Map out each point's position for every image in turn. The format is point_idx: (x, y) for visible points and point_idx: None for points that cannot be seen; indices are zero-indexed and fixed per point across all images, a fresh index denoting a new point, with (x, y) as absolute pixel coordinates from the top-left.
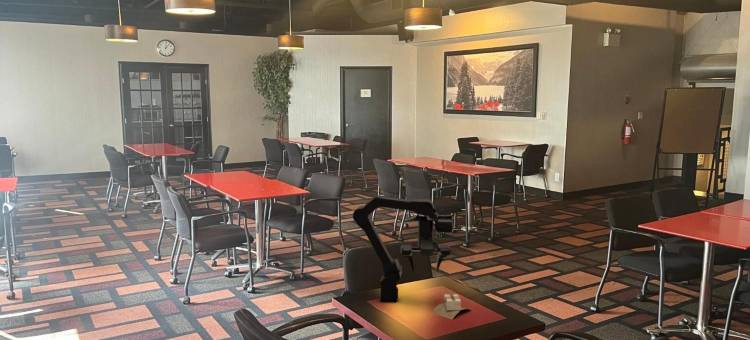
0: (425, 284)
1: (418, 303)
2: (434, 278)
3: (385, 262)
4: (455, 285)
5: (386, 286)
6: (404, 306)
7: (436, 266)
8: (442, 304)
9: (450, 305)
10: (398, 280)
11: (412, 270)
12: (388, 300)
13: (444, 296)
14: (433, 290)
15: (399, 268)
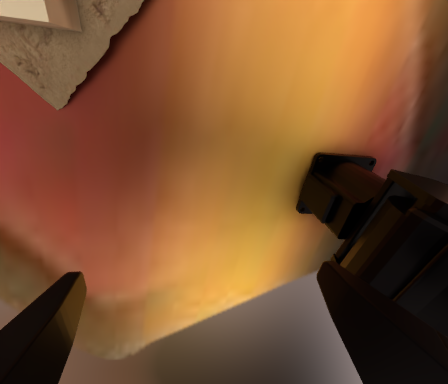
0: (167, 310)
1: (228, 134)
2: (133, 349)
3: None
4: None
5: (423, 177)
6: (301, 99)
7: (65, 352)
8: (95, 14)
9: None
10: (390, 201)
11: (343, 268)
12: (348, 160)
13: (54, 12)
14: (143, 269)
15: (441, 286)
